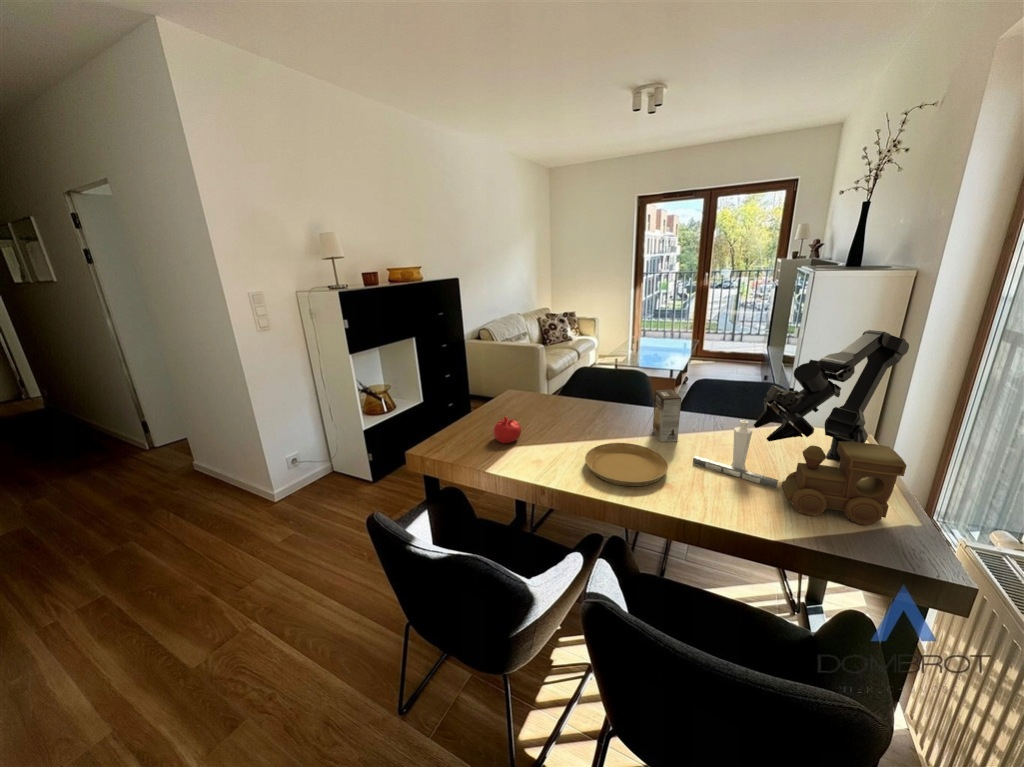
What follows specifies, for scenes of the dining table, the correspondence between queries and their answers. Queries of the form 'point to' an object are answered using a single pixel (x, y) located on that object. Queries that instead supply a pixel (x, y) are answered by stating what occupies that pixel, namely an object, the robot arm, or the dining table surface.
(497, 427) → the pomegranate
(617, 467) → the plant saucer
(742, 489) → the dining table surface
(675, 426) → the coffee box
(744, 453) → the cream angular vase
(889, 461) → the wooden toy train
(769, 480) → the rail
